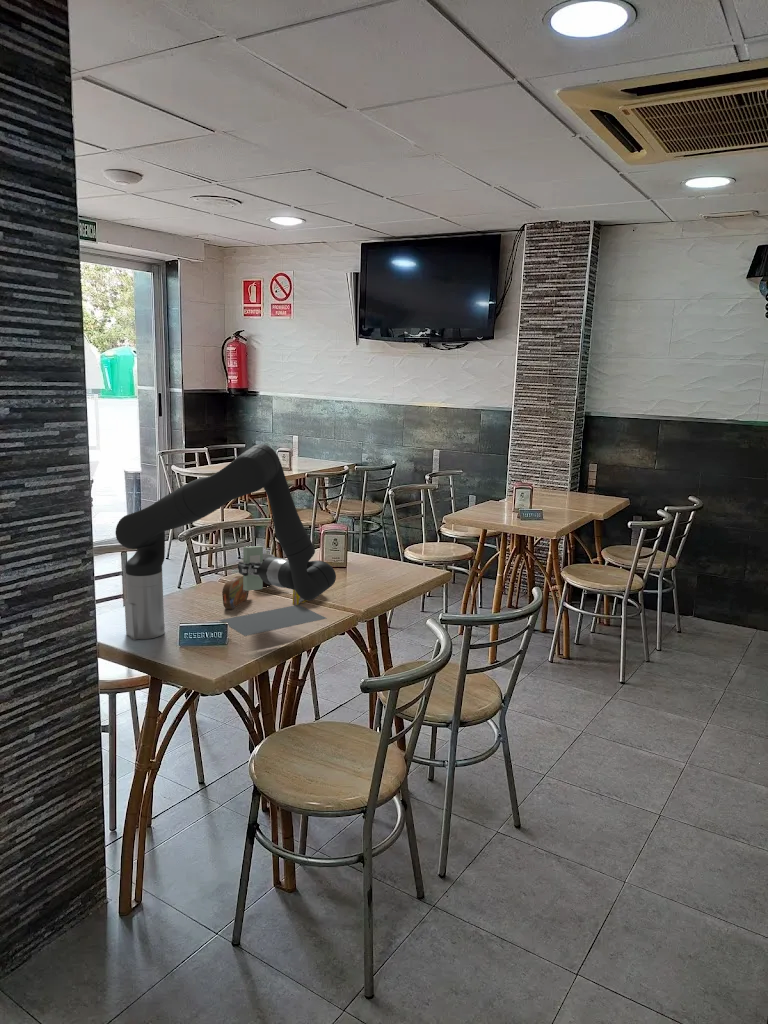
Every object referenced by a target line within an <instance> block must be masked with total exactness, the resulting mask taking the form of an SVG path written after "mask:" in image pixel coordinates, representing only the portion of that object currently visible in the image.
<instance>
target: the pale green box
mask: <svg viewBox="0 0 768 1024" xmlns="http://www.w3.org/2000/svg"><path fill="white" fill-rule="evenodd" d="M242 550H243V551H242V552H243V555H242V556H243V557H242V558H243V559H242V560H243V561H242V562H244V563H250V562H263V554H264V546H262V545H256V546H255V545H254V546H243V549H242ZM254 566H255V565H254ZM242 576H243V575H242ZM263 589H264V588H263V581H262V579H261V578H260V577H258V576H256V575H250V574H249V575H248V576H243V590H246V591H249V592H250V591H258V590H263Z"/></svg>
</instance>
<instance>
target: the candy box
mask: <svg viewBox="0 0 768 1024" xmlns="http://www.w3.org/2000/svg"><path fill="white" fill-rule="evenodd" d="M305 602H307V600H304V599H302V598H301V597H300V596H299V595H298V594H297V592H296V590H292V605H293V606H294V605H300V604H301V603H302V604H304V603H305Z"/></svg>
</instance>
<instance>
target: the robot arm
mask: <svg viewBox="0 0 768 1024" xmlns="http://www.w3.org/2000/svg"><path fill="white" fill-rule="evenodd" d="M262 489H263V490H264V491H265V493H266V496H267V498H268V500H269V501H268V502H269V504H270V508H271V513H272V522H273V527H274V528H273V529H274V532H275V537H276V539H277V541H278V543H279V545H280V546H281V547H280V548H281V550H282V551H283V553H284V555H285V556H286V558H287V559H286V558H282V557H277V556H274V557H268V558H266V559H265V560H264V561H263V562H250V563H244V562H243V561H239V562H238V563H237V569H238V573H239V574H240V575H242V576H248V575H249V574H250V575H256V576H258V577H260V578H261V579H262V581H263V582H265V583H266V584H270V585H271V586H272V587H273V586H274V587H277V588H281V589H283V588H284V589H288V590H289V589H290V590H292V591H293V590H296V592H297V594H298V595H299V596H300V597H301V598H302V599H304V600H307V601H309V602H311V601H313V600H315V599H316V598H318V597H319V596H321V594H323V593H325V592H326V591H327V590H328V589H330V588H331V587H332V586H334V584H335V582H336V580H337V575H336V574H337V573H336V571H335V569H334V567H333V566H332V565H330V564H329V563H328V562H326V561H324V560H312V558H313V557H314V555H315V553H316V549H315V546H314V544H313V542H312V540H311V537H310V536H309V534H308V532H307V530H306V528H305V527H304V524H303V521H302V520H301V518H300V515H299V513H298V511H297V508H296V504H295V502H294V499H293V496H292V493H291V490H290V488H289V484H288V481H287V478H286V475H285V472H284V468H283V466H282V462H281V460H280V457H279V456H278V453H277V452H276V451H275V450H274V449H273V448H272V447H271V446H269V445H266V444H261V443H259V444H255V445H252V446H251V447H249V448H247V450H245V451H244V452H242V453H241V454H240V455H238V456H237V457H235V459H233V460H232V461H231V462H230V463H229V464H227V465H226V466H224V467H223V468H222V469H219V471H217V472H216V473H213V474H212V475H208V476H203V477H199V478H197V479H194V480H192V481H189V482H188V483H185V484H184V485H181V486H180V487H178V488H176V489H175V490H173V491H172V492H170V493H168V494H167V495H165V496H163V497H162V498H160V499H158V500H157V501H155V502H154V503H153V504H151V505H149V506H146V507H145V508H142V509H140V510H138V511H134V512H131V513H129V514H127V515H124V516H123V517H121V518H120V519H119V521H118V522H117V524H116V526H115V538H116V540H117V542H118V543H119V544H120V545H121V546H122V547H124V548H126V549H131V550H136V551H135V552H134V555H132V556H131V558H129V559H128V560H127V561H126V563H125V584H126V587H125V588H126V599H124V617H125V634H126V635H127V636H128V637H129V638H130V639H132V640H147V639H153V638H158V637H160V636H163V635H164V634H165V633H166V632H165V607H164V585H163V584H164V582H163V580H164V579H163V564H164V561H165V557H166V532H167V531H171V530H173V529H177V528H180V527H184V526H187V525H189V524H192V523H194V522H197V521H199V520H202V519H203V518H205V517H207V516H209V515H210V514H212V513H214V512H215V511H217V510H219V509H220V508H222V507H223V506H224V505H225V504H227V503H228V502H230V501H233V500H235V499H238V498H240V497H241V498H242V497H243V496H246V495H249V494H253V493H255V492H258V491H260V490H262ZM254 565H255V566H254ZM307 601H306V602H307Z"/></svg>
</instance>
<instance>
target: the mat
mask: <svg viewBox="0 0 768 1024" xmlns="http://www.w3.org/2000/svg"><path fill="white" fill-rule="evenodd" d="M326 619H328V617H326V616H324V615H322V614H319V613H317V612H315V611H313V610H310V609H308V608H306V607H304V606H302V605H300V604H298V605H294V604H293V605H291V606H290V605H288V606H285V607H279V608H274V609H268V610H264V611H260V612H255V613H254V612H253V613H249V614H248V613H247V614H245V615H239V616H233V617H228V618H224V619H219V620H218V621H219V622H221V623H223V622H227V623H228V625H229V626H228V625H227V626H228V627H229V628H231V629H232V630H234V631H236V632H238V634H241V635H242V636H244V637H246V636H251V635H255V634H260V633H264V632H270V631H274V630H275V631H276V630H279V629H284V628H289V627H293V626H298V625H302V624H303V625H304V624H307V623H312V622H317V621H321V620H326Z"/></svg>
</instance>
